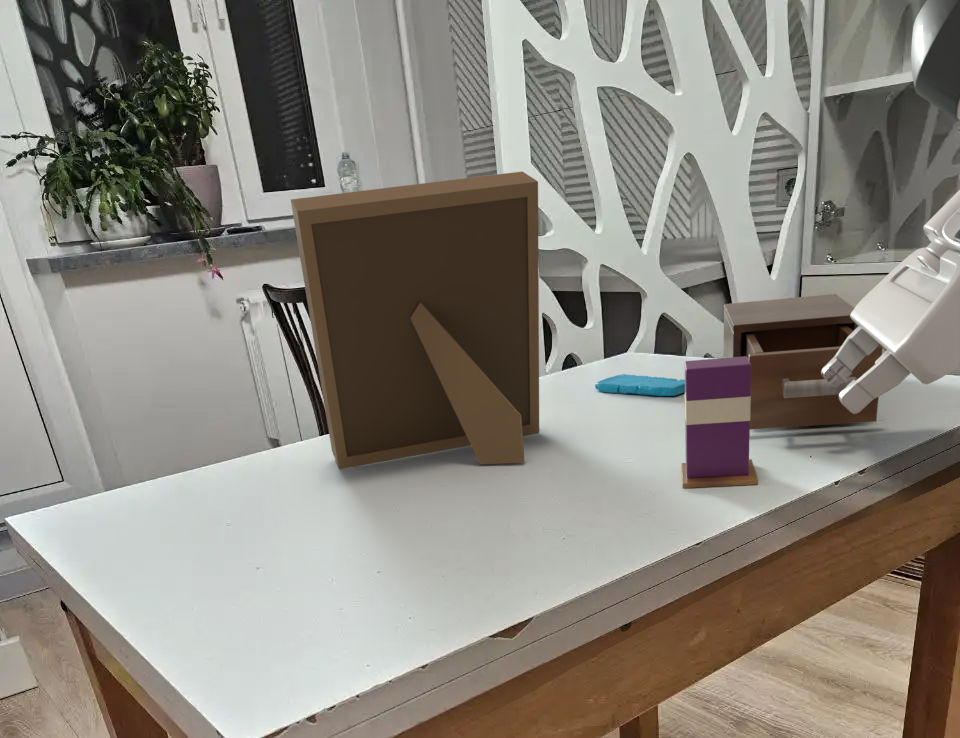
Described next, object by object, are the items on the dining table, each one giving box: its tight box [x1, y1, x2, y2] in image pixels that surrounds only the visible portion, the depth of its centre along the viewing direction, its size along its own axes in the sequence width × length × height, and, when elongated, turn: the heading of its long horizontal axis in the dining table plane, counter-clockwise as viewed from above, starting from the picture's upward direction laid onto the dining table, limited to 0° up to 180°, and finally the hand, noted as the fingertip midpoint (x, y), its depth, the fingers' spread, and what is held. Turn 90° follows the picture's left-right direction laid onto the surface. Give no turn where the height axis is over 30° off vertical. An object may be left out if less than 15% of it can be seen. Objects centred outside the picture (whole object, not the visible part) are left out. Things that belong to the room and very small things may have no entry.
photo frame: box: [290, 171, 540, 470], centre depth 87 cm, size 15×22×25 cm
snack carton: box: [684, 356, 751, 478], centre depth 75 cm, size 5×4×9 cm
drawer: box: [744, 324, 884, 430], centre depth 88 cm, size 20×11×7 cm, turn 170°
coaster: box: [680, 458, 759, 489], centre depth 77 cm, size 6×6×1 cm
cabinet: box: [723, 293, 858, 358], centre depth 101 cm, size 17×13×9 cm
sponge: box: [594, 373, 685, 397], centre depth 110 cm, size 2×12×6 cm
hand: (835, 393), depth 73 cm, fingers open, 8 cm apart
